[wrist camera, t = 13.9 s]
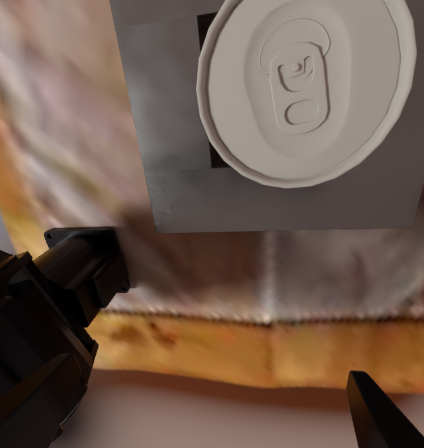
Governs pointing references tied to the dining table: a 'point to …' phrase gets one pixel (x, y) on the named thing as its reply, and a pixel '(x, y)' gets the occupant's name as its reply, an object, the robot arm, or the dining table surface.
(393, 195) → the block
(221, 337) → the dining table surface
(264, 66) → the beverage can
